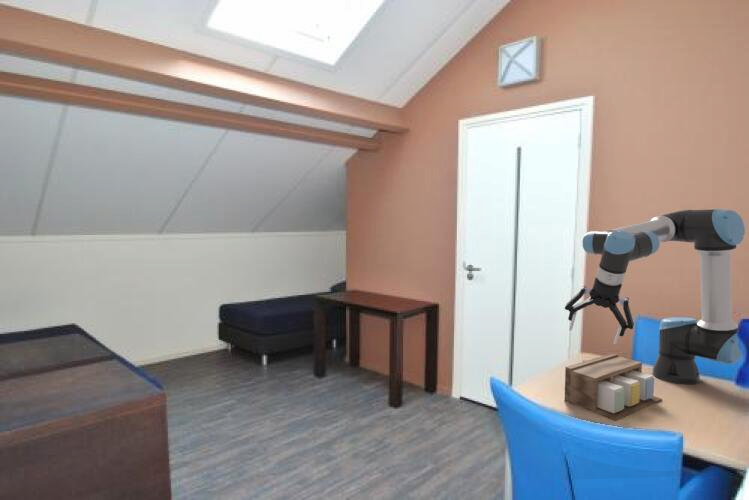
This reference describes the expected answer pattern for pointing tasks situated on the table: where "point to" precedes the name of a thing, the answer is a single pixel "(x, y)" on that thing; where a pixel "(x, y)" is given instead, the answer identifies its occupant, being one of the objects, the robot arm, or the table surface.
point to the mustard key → (628, 389)
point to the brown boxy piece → (585, 381)
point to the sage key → (610, 396)
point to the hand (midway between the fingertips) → (592, 335)
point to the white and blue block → (643, 383)
